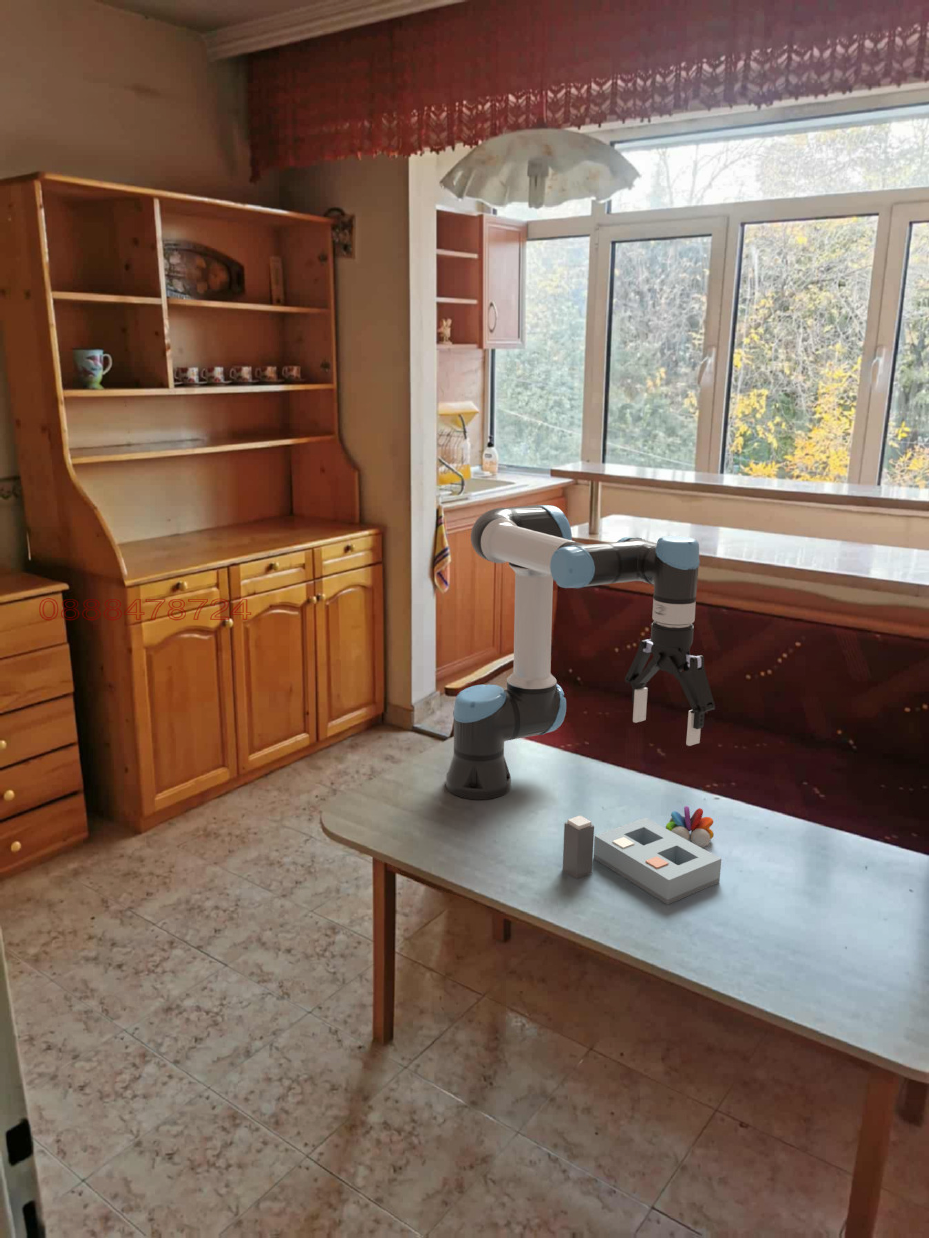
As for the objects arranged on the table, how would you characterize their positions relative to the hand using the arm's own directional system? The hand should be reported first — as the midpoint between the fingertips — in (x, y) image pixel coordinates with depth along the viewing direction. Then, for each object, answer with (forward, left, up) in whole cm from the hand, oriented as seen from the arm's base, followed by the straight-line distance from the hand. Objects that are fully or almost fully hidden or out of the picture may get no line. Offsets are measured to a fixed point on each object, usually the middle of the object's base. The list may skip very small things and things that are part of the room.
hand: (665, 732), depth 174 cm
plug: (-8, -13, -29) cm, 33 cm away
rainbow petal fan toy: (-5, +15, -29) cm, 33 cm away
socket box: (0, 0, -29) cm, 29 cm away
